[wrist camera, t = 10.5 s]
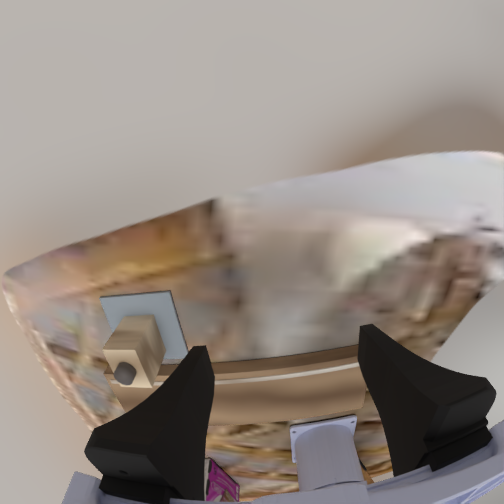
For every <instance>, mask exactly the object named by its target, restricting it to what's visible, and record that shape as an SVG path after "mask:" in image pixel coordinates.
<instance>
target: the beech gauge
mask: <svg viewBox="0 0 504 504" xmlns="http://www.w3.org/2000/svg"><path fill="white" fill-rule="evenodd" d="M102 351H103V353H104V355H105V357H106V359H107V361H108V363H109V365H110V367H111V369H112V371H113V373H114V374H113V375H114V378H115V379H116V380H117V381H118V382H119V384H120V386H121V387H138V388H152V387H153V385H154V382H155V379H156V376H157V374H158V371H159V369H160V366H161V363H162V361H163V358H164V355H165V353H166V348H165V346H164V343H163V340H162V337H161V335H160V332H159V329H158V326H157V323H156V320H155V317H154V315H139V316H124V317H123V319H122V320H121V322H120V323H119V325H118V326H117V328H116V329H115V331H114V332H113V334H112V335H111V337H110V338H109V340H108V341H107V343H106V344H105V346H104V347H103V349H102Z"/></svg>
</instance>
